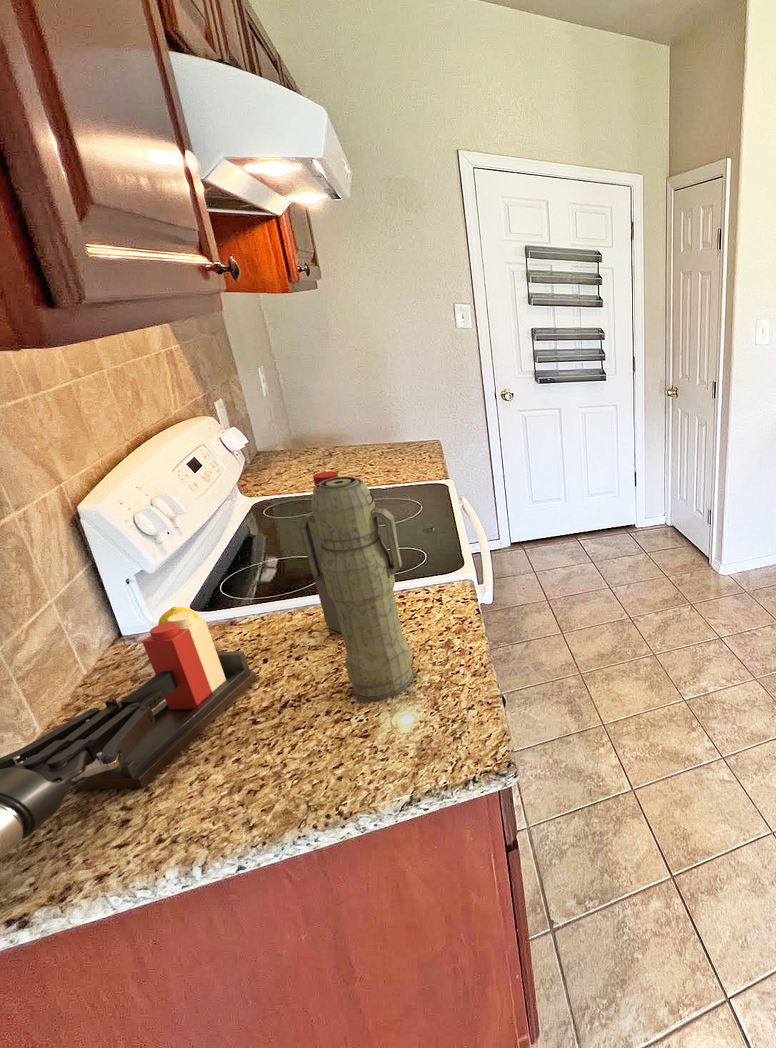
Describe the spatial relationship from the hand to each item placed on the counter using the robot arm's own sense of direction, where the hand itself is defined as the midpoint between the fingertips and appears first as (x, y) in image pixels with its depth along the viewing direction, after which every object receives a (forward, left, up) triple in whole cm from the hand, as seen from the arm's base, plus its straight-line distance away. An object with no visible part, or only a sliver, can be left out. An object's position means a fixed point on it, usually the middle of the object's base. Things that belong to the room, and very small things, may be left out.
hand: (169, 678), depth 82 cm
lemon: (-14, +20, -8) cm, 25 cm away
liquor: (+12, +27, -8) cm, 30 cm away
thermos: (+25, +8, -8) cm, 27 cm away
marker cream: (0, +5, -6) cm, 7 cm away
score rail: (0, -1, -7) cm, 8 cm away
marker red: (0, +2, -6) cm, 6 cm away
